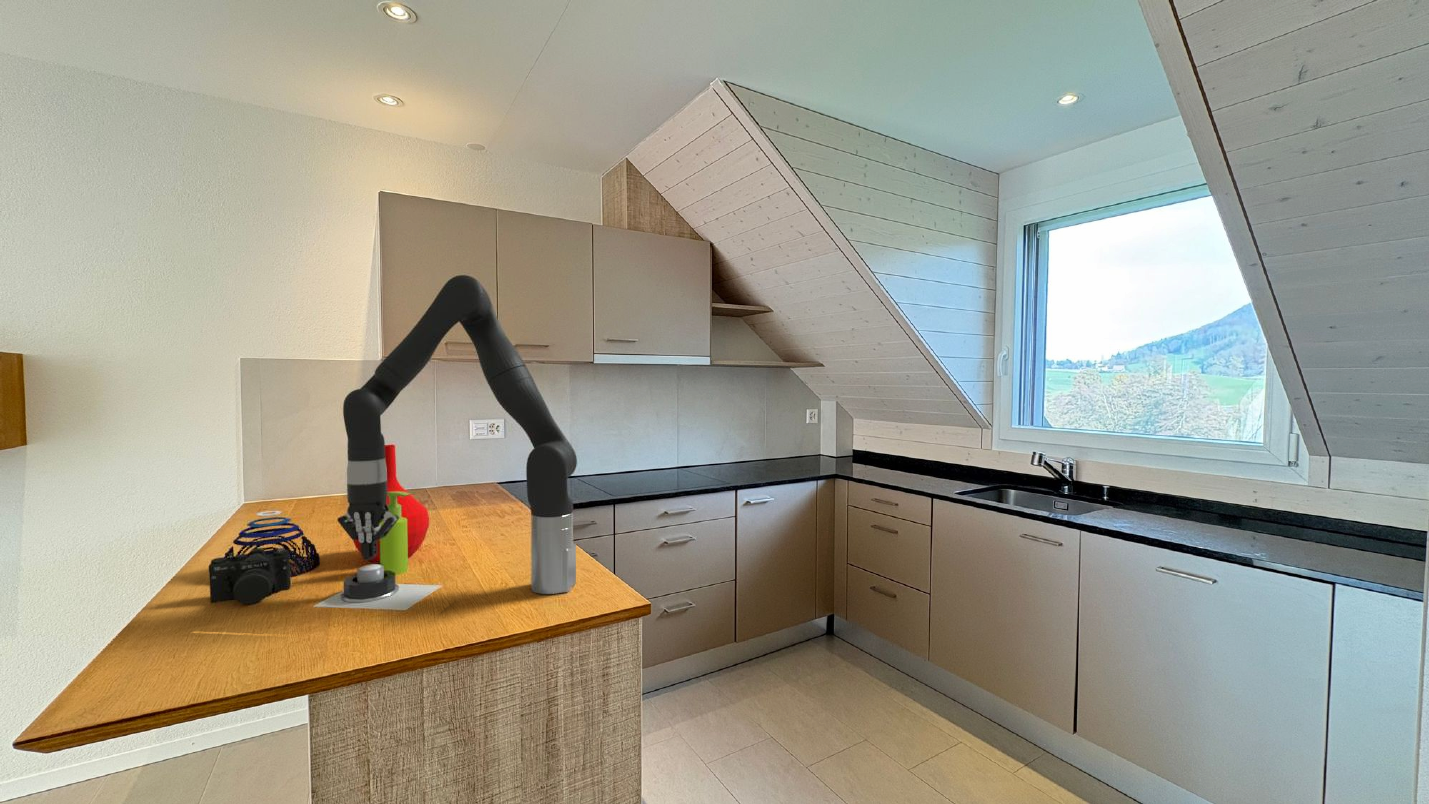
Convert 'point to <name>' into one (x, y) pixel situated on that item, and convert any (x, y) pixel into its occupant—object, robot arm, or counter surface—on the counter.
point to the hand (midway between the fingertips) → (369, 558)
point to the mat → (398, 601)
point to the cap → (370, 573)
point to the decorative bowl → (278, 542)
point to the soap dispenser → (395, 539)
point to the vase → (403, 509)
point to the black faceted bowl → (369, 589)
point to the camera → (249, 576)
